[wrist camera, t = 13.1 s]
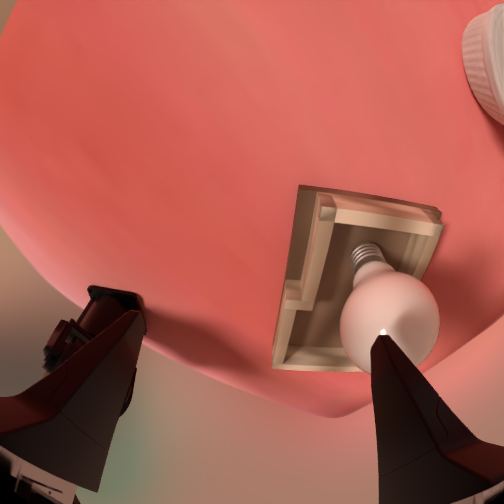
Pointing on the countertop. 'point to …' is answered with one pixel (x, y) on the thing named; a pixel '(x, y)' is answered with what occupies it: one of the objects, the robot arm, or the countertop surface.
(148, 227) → the countertop surface
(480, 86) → the ramekin
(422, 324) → the lightbulb
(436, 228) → the wooden tray
